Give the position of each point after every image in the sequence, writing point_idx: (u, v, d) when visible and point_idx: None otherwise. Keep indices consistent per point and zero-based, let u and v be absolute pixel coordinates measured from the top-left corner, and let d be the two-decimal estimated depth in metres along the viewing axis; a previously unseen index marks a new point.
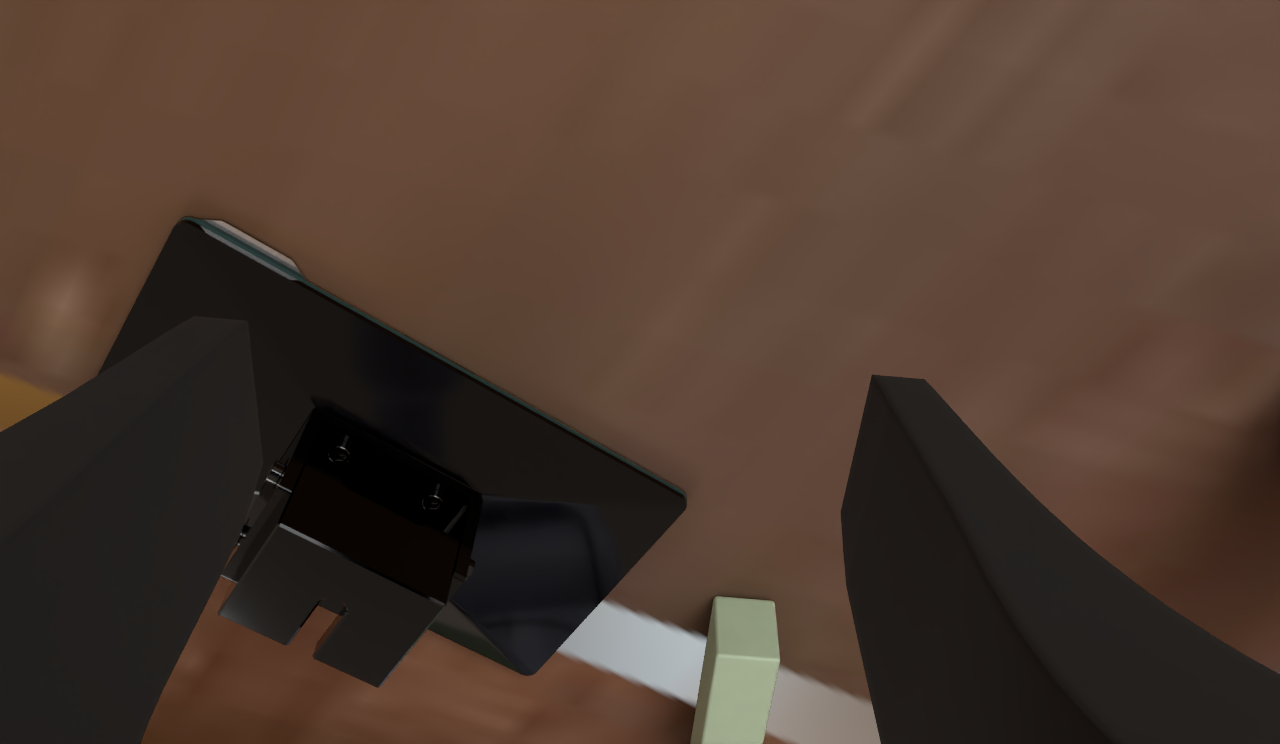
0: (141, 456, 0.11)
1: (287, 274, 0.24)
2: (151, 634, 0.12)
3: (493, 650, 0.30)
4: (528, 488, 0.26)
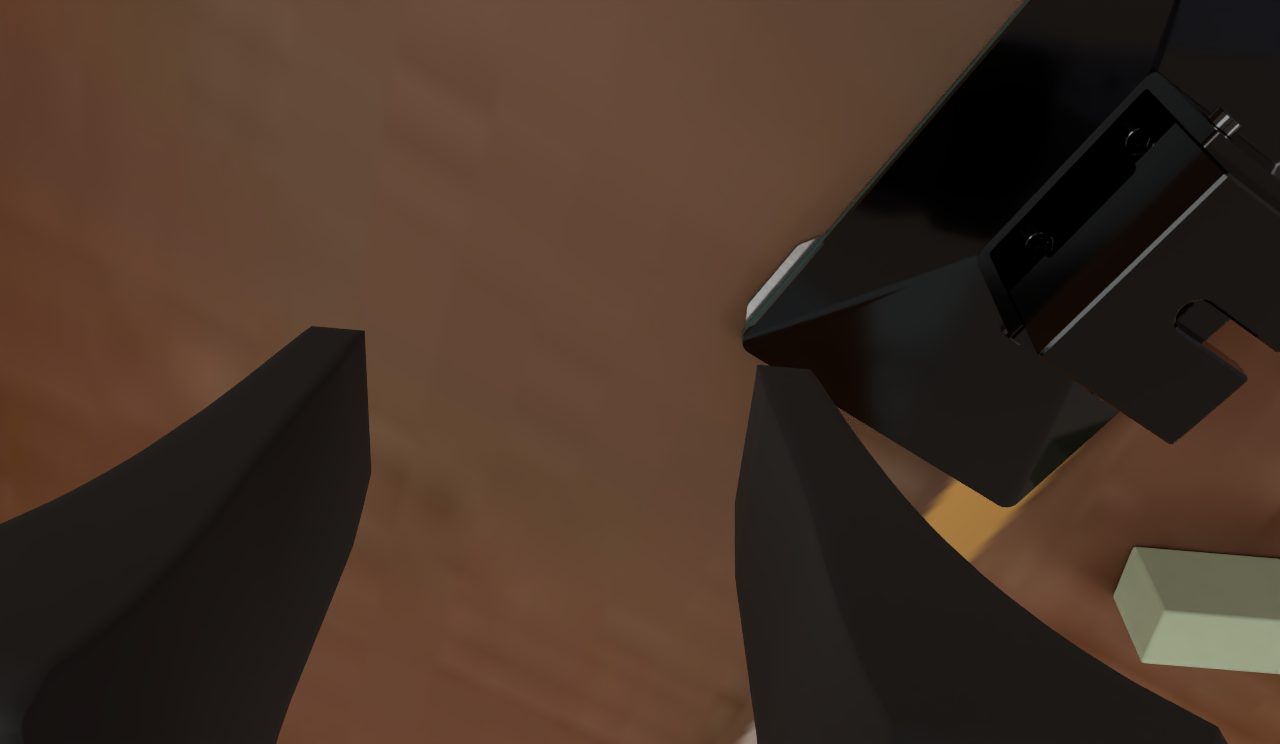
0: (282, 468, 0.11)
1: (812, 253, 0.22)
2: (284, 645, 0.12)
3: None
4: (1159, 4, 0.19)
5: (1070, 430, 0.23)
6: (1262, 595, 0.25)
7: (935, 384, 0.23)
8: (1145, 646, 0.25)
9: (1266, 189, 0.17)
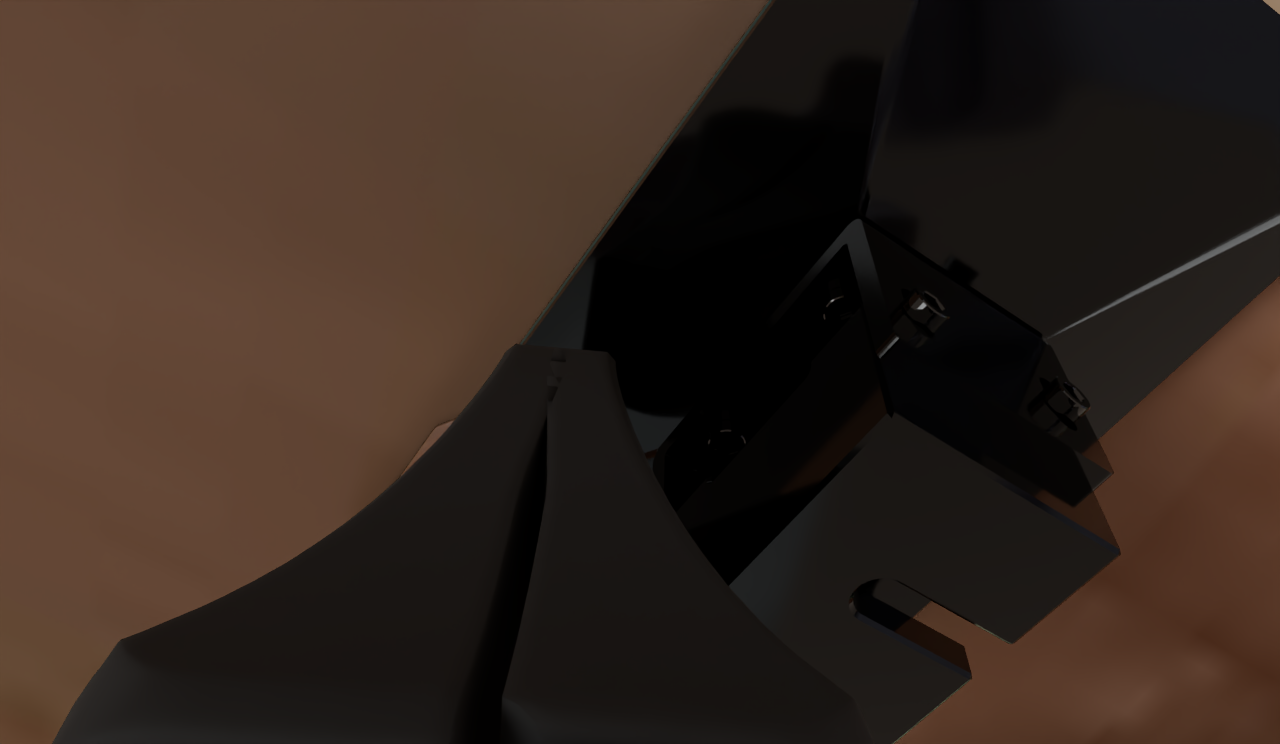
0: (530, 489, 0.11)
1: None
2: None
3: None
4: (858, 124, 0.13)
5: None
6: None
7: None
8: None
9: (980, 414, 0.12)
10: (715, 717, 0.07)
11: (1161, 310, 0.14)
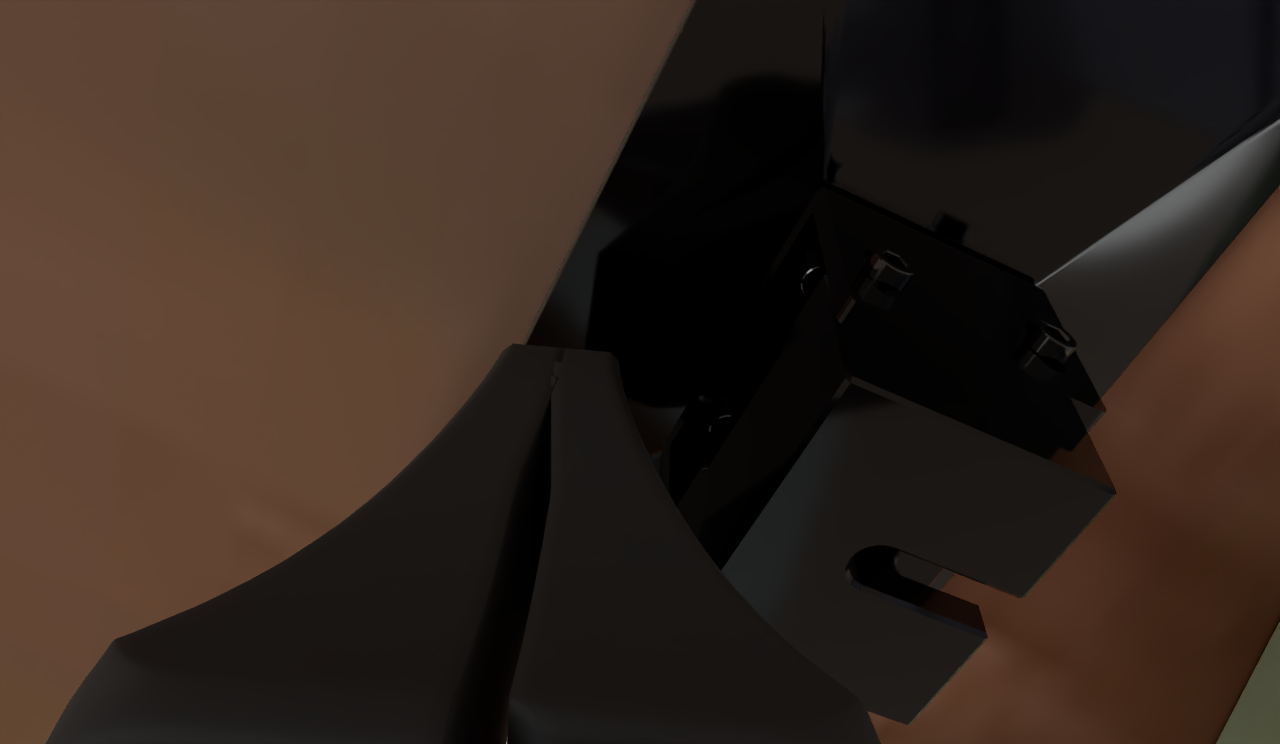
0: (526, 488, 0.11)
1: None
2: (513, 663, 0.12)
3: None
4: (808, 92, 0.13)
5: None
6: None
7: None
8: None
9: (954, 367, 0.11)
10: (722, 717, 0.07)
11: (1156, 238, 0.14)
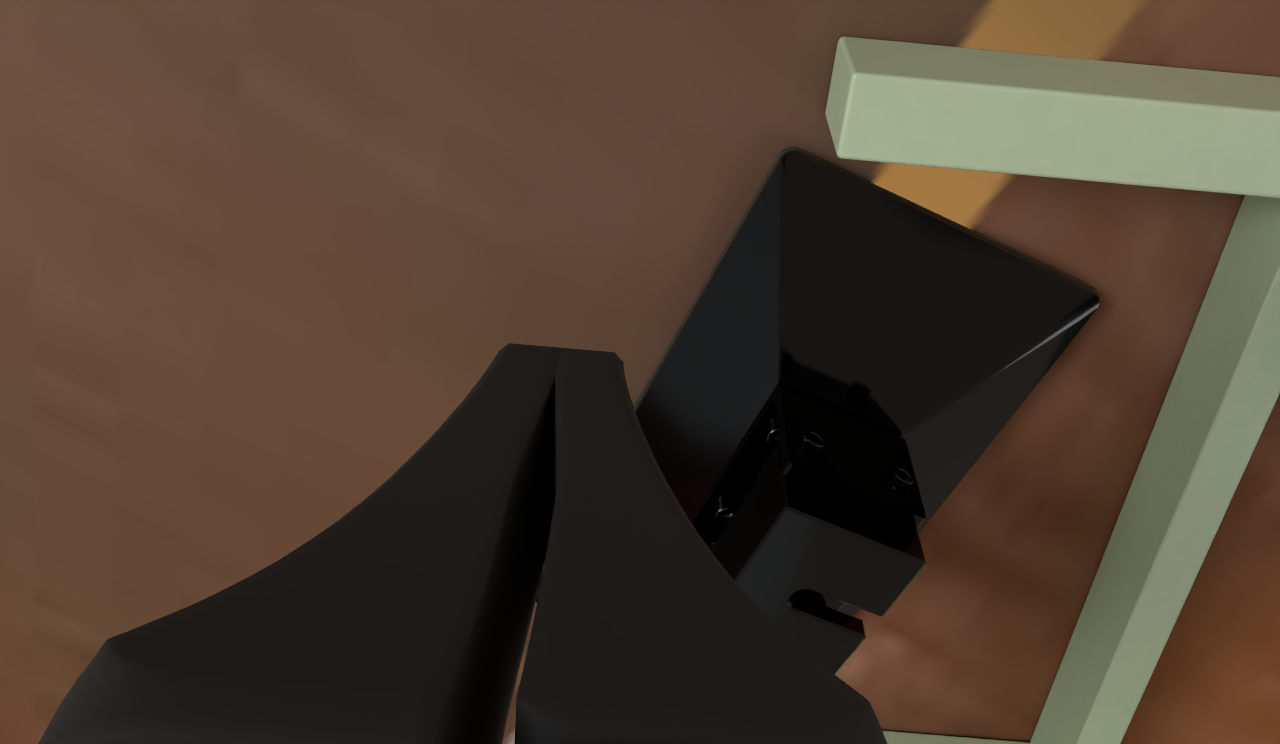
0: (522, 488, 0.11)
1: None
2: (509, 663, 0.12)
3: (1047, 345, 0.24)
4: (770, 335, 0.23)
5: None
6: None
7: None
8: None
9: (844, 496, 0.22)
10: (730, 717, 0.07)
11: (971, 409, 0.24)
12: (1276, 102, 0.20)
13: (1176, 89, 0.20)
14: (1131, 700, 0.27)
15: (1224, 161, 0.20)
